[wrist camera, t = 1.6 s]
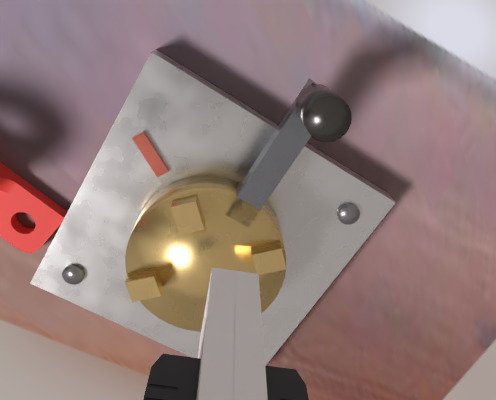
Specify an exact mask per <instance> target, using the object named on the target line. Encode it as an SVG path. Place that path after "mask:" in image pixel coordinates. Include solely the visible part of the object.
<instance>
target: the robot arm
mask: <svg viewBox="0 0 496 400" xmlns="http://www.w3.org/2000/svg"><path fill="white" fill-rule="evenodd" d="M144 400H309V399H308V394H307V388H306V384H305V383H304V381H303V380H302V378H301V377H300V375H299V374H298V372H297V371H296V370H295V369H287V368H279V367H271V366H265V356H264V342H263V328H262V314H261V301H260V287H259V274H255V273H248V272H241V271H234V270H227V269H221V268H214V267H212V271H211V276H210V282H209V288H208V294H207V300H206V306H205V311H204V317H203V323H202V329H201V335H200V343H199V351H198V358H192V357H184V356H176V355H169V354H162V355H161V357H160V358H159V359H158V360H157V361H156V362H155V363H154V365H153V366H152V367H151V371H150V375H149V379H148V383H147V387H146V391H145V395H144Z"/></svg>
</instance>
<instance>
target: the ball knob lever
mask: <svg viewBox="0 0 496 400" xmlns="http://www.w3.org/2000/svg"><path fill="white" fill-rule="evenodd" d="M350 124H351V111H350V108H349V106H348V105H347V104H346V103H345V101H343V100H342V99H341V98H340V97H339V96H337V95H336V94H335V93H334V92H333V91H331V90H330V89H329V88H328V87H326V86H324V85H321V84H317V83H315V82H314V81H312V80H311V79H309V80H308V81H307V83H306V84H305V86H304V87H303V89H302V90H301V92H300V93H299V95H298V97H297V98H296V100H295V101H294V103H293V104H292V106H291V107H290V109H289V110H288V112H287V113H286V115H285V116H284V118H283V119H282V121H281V122H280V124H279V126H278V127H277V129H276V130H275V132H274V133H273V135H272V136H271V138H270V139H269V141H268V142H267V144H266V145H265V147H264V148H263V150H262V151H261V153H260V154H259V156H258V158H257V159H256V161H255V162H254V164H253V165H252V167H251V168H250V170H249V171H248V173H247V174H246V176H245V177H244V179H243V180H242V182H241V183H239V182H236V181H233V180H230V179H226V178H222V177H214V176H198V177H192V178H187V179H184V180H180V181H178V182H175V183H173V184H171V185H169V186H167V187H166V188H164V189H162V190H161V191H159V192H158V193H157V194H156V195H155V196H153V198H152V199H151V200H150V201H149V202H148V203H147V204H146V206H145V207H144V209H143V210H142V212H141V214H140V216H139V218H138V220H137V222H136V225H135V227H134V229H133V231H132V234H131V236H130V238H129V241H128V244H127V248H126V255H125V267H126V273H127V278H126V281H125V285H126V287H127V290H128V292H129V295H130V297H131V300H132V302H136V301H140V302H141V303H142V304H143V305H144V307H145V308H147V309H148V310H149V311H150V312H151V313H152V314H154V315H155V316H156V317H158V318H159V319H161V320H163V321H165V322H167V323H168V324H171V325H173V326H176V327H179V328H182V329H186V330H191V331H198V332H201V329H202V323H203V317H204V311H205V306H206V300H207V294H208V288H209V282H210V276H211V271H212V267H214V268H221V269H227V270H234V271H241V272H248V273H255V274H259V287H260V301H261V313H262V312H264V311H265V310H266V309H267V308H268V307H269V306H270V305H271V303H272V302H273V301H274V300H275V298H276V297H277V295H278V293H279V291H280V289H281V287H282V285H283V282H284V278H285V274H286V253H285V247H284V242H283V238H282V233H281V229H280V226H279V222H278V220H277V218H276V216H275V214H274V212H273V210H272V209H271V207H270V206H269V205H268V204H267V200H268V199H269V197H270V196H271V194H272V193H273V191H274V190H275V188H276V187H277V186H278V184H279V183H280V181H281V180H282V178H283V177H284V175H285V174H286V172H287V171H288V170H289V168H290V167H291V165H292V164H293V162H294V161H295V159H296V158H297V156H298V155H299V154H300V152H301V151H302V149H303V148H304V146H305V145H306V143H307V142H308V140H309V139H310V138H311V136H312V137H313V138H315V139H317V140H319V141H322V142H331V141H335V140H337V139H339V138H341V137H342V136H343V135H344V134H345V133H346V132H347V130H348V129H349V127H350Z"/></svg>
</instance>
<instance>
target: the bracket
mask: <svg viewBox="0 0 496 400" xmlns="http://www.w3.org/2000/svg"><path fill="white" fill-rule="evenodd" d="M18 212H25V213H27V214H29V215H31V216H32V217H33V219H34V220H35V223H36V226H35V227H34V228H27V227H24V226H22V225H21V224H20V223H19V222H18V220H17V213H18ZM66 214H67V211H66V210H65V209H63V208H62V207H61V206H59V205H58V204H56V203H55V202H54V201H52V200H51V199H50V198H48V197H47V196H46V195H44V194H43V193H42V192H40V191H39V190H38V189H36V188H35V187H33V186H32V185H31V184H29V183H28V182H27V181H25V180H24V179H23V178H21V177H20V176H19V175H17V174H16V173H15V172H13V171H12V170H10V169H9V168H8V167H6V166H5V165H4V164H2V163H1V162H0V237H1V238H3V239H4V240H6V241H7V242H9V243H10V244H12V245H13V246H14V247H16V248H17V249H19V250H21V251H23V252H27V253H32V252H35V251H37V250H39V249H40V247H41V246H42V245H43V244H44V243H45V242H46V241H47V239H48V238H49V237H50V236H51V235H52V234H53V233H54V231H55V230H56V229H57V228H58V227H59V226H60V225H61V223H62V222H63V220H64V218H65V216H66Z"/></svg>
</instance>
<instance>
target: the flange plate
mask: <svg viewBox="0 0 496 400" xmlns="http://www.w3.org/2000/svg"><path fill="white" fill-rule="evenodd" d="M278 126H279V125H278V124H276V123H274V122H273V121H271V120H269V119H268V118H266V117H265V116H263V115H261V114H260V113H258V112H257V111H255V110H253V109H252V108H250V107H249V106H247V105H245V104H244V103H242V102H240V101H239V100H237V99H236V98H234V97H232V96H231V95H229V94H228V93H226V92H224V91H223V90H221V89H219V88H218V87H216V86H215V85H213V84H211V83H210V82H208V81H207V80H205V79H203V78H202V77H200V76H199V75H197V74H195V73H194V72H192V71H190V70H189V69H187V68H186V67H184V66H182V65H181V64H179V63H178V62H176V61H174V60H173V59H171V58H169V57H168V56H166V55H165V54H163V53H161V52H160V51H158V50H157V49H156V50H154V51H152V52H151V54H150V56H149V58H148V59H147V61H146V63H145V65H144V67H143V69H142V71H141V73H140V75H139V77H138V79H137V80H136V82H135V84H134V86H133V88H132V90H131V92H130V94H129V96H128V98H127V100H126V101H125V103H124V105H123V107H122V109H121V111H120V113H119V115H118V117H117V119H116V121H115V122H114V124H113V126H112V128H111V130H110V132H109V134H108V136H107V138H106V140H105V142H104V143H103V145H102V147H101V149H100V151H99V153H98V155H97V157H96V159H95V161H94V162H93V164H92V166H91V168H90V170H89V172H88V174H87V176H86V178H85V180H84V182H83V183H82V185H81V187H80V189H79V191H78V193H77V195H76V197H75V199H74V201H73V203H72V204H71V206H70V208H69V210H68V212H67V214H66V216H65V218H64V220H63V222H62V224H61V225H60V227H59V229H58V231H57V233H56V235H55V237H54V239H53V241H52V243H51V245H50V246H49V248H48V250H47V252H46V254H45V256H44V258H43V260H42V262H41V264H40V266H39V267H38V269H37V271H36V273H35V275H34V277H33V279H32V281H31V284H33V285H35V286H37V287H39V288H42V289H44V290H46V291H48V292H50V293H52V294H55V295H57V296H59V297H61V298H63V299H66V300H68V301H70V302H72V303H74V304H76V305H79V306H81V307H83V308H85V309H87V310H89V311H92V312H94V313H96V314H98V315H100V316H103V317H105V318H107V319H109V320H111V321H113V322H116V323H118V324H120V325H122V326H124V327H126V328H129V329H131V330H133V331H135V332H137V333H139V334H142V335H144V336H146V337H148V338H150V339H153V340H155V341H157V342H159V343H161V344H163V345H166V346H168V347H170V348H172V349H174V350H176V351H179V352H181V353H183V354H185V355H187V356H190V357H192V358H198V351H199V343H200V335H201V332H198V331H191V330H186V329H182V328H179V327H176V326H173V325H171V324H168V323H167V322H165V321H163V320H161V319H159V318H158V317H156V316H155V315H154V314H152V313H151V312H150V311H149V310H148V309H147V308H145V307H144V305H143V304H142V303H141V302H140V301H136V302H132V300H131V297H130V295H129V292H128V290H127V287H126V285H125V281H126V278H127V273H126V267H125V255H126V248H127V244H128V241H129V238H130V236H131V234H132V231H133V229H134V227H135V225H136V222H137V220H138V218H139V216H140V214H141V212H142V210H143V209H144V207H145V206H146V204H147V203H148V202H149V201H150V200H151V199H152V198H153V196H155V195H156V194H157V193H158V192H159V191H161V190H162V189H164V188H166V187H167V186H169V185H171V184H173V183H175V182H178V181H180V180H184V179H187V178H192V177H198V176H214V177H222V178H226V179H230V180H233V181H236V182H239V183H241V182H242V180H243V179H244V177H245V176H246V174H247V173H248V171H249V170H250V168H251V167H252V165H253V164H254V162H255V161H256V159H257V158H258V156H259V154H260V153H261V151H262V150H263V148H264V147H265V145H266V144H267V142H268V141H269V139H270V138H271V136H272V135H273V133H274V132H275V130H276V129H277V127H278ZM395 203H396V202H395V201H394V200H393V199H392V198H391V196H390V195H389V194H388V193H387V192H386V191H384V190H382V189H381V188H379V187H378V186H376V185H374V184H373V183H371V182H369V181H368V180H366V179H365V178H363V177H361V176H360V175H358V174H357V173H355V172H353V171H352V170H350V169H348V168H347V167H345V166H344V165H342V164H340V163H339V162H337V161H336V160H334V159H332V158H331V157H329V156H328V155H326V154H324V153H323V152H321V151H319V150H318V149H316V148H315V147H313V146H311V145H310V144H308V143H306V145H305V146H304V148H303V149H302V151H301V152H300V154H299V155H298V156H297V158H296V159H295V161H294V162H293V164H292V165H291V167H290V168H289V170H288V171H287V172H286V174H285V175H284V177H283V178H282V180H281V181H280V183H279V184H278V186H277V187H276V188H275V190H274V191H273V193H272V194H271V196H270V197H269V199H268V200H267V204H268V205H269V206H270V207H271V209H272V210H273V212H274V214H275V216H276V218H277V220H278V222H279V226H280V229H281V233H282V238H283V242H284V247H285V253H286V274H285V278H284V282H283V285H282V287H281V289H280V291H279V293H278V295H277V297H276V298H275V300H274V301H273V302H272V303H271V305H270V306H269V307H268V308H267V309H266V310H265V311H264V312H262V313H261V314H262V328H263V342H264V356H265V366H266V365H267V363H268V362H269V361H270V360H271V358H272V357H273V356H274V355H275V353H276V352H277V351H278V350H279V348H280V347H281V346H282V345H283V343H284V342H285V341H286V340H287V338H288V337H289V336H290V335H291V333H292V332H293V331H294V330H295V328H296V327H297V326H298V325H299V323H300V322H301V321H302V320H303V318H304V317H305V316H306V315H307V313H308V312H309V311H310V309H311V308H312V307H313V306H314V304H315V303H316V302H317V301H318V299H319V298H320V297H321V296H322V294H323V293H324V292H325V291H326V289H327V288H328V287H329V286H330V284H331V283H332V282H333V281H334V279H335V278H336V277H337V276H338V274H339V273H340V272H341V271H342V269H343V268H344V267H345V266H346V264H347V263H348V262H349V261H350V259H351V258H352V257H353V256H354V254H355V253H356V252H357V251H358V249H359V248H360V247H361V246H362V244H363V243H364V242H365V241H366V239H367V238H368V237H369V236H370V234H371V233H372V232H373V231H374V229H375V228H376V227H377V226H378V224H379V223H380V222H381V220H382V219H383V218H384V217H385V215H386V214H387V213H388V212H389V210H390V209H391V208H392V207H393V205H394V204H395Z"/></svg>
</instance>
